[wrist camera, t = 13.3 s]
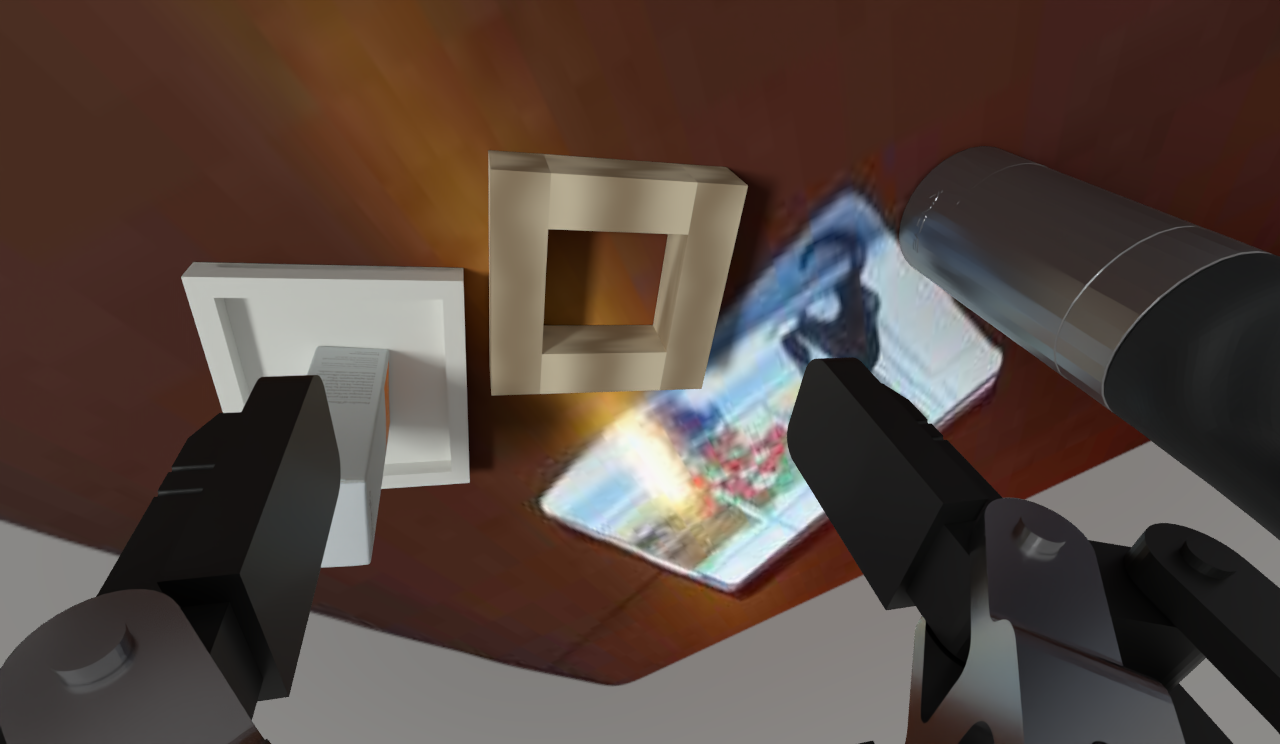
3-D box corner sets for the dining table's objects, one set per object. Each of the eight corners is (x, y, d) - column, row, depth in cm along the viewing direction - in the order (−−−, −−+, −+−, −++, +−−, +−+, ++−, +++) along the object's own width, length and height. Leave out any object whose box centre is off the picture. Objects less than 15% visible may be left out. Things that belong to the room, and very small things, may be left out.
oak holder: (726, 167, 37) (748, 185, 34) (686, 360, 44) (701, 388, 42) (488, 150, 33) (490, 169, 30) (489, 364, 41) (491, 395, 38)
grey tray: (463, 267, 37) (463, 281, 35) (469, 465, 45) (469, 482, 44) (193, 262, 33) (180, 276, 31) (256, 478, 42) (249, 497, 40)
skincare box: (392, 422, 41) (371, 568, 31) (322, 421, 40) (277, 573, 30) (391, 345, 38) (368, 482, 28) (315, 341, 36) (263, 483, 27)
